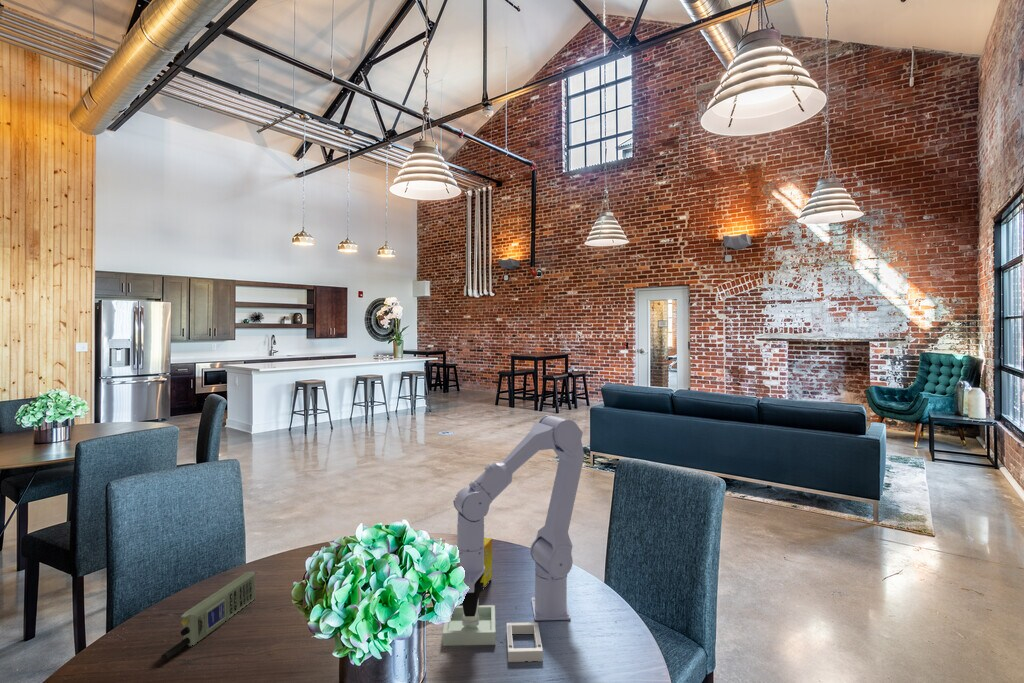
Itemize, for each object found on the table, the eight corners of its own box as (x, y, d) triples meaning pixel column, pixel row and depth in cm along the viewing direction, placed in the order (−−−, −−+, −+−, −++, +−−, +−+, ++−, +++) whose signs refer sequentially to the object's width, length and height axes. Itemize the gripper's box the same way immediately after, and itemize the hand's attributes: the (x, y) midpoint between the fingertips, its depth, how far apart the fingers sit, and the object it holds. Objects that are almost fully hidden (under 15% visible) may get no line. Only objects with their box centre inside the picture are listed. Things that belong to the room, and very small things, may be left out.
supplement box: (461, 587, 126) (462, 543, 127) (470, 576, 132) (470, 534, 132) (484, 590, 125) (484, 546, 125) (492, 580, 130) (492, 537, 131)
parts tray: (447, 617, 113) (447, 606, 113) (494, 616, 113) (494, 605, 113) (442, 645, 102) (442, 633, 102) (495, 644, 102) (495, 632, 102)
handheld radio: (258, 599, 120) (171, 665, 96) (245, 599, 121) (156, 664, 96) (257, 571, 120) (171, 629, 96) (244, 571, 121) (155, 628, 96)
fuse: (462, 618, 109) (463, 585, 109) (479, 618, 109) (479, 585, 109) (461, 627, 106) (461, 593, 106) (478, 627, 106) (478, 594, 106)
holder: (506, 632, 107) (506, 621, 107) (537, 631, 107) (537, 620, 107) (508, 662, 97) (508, 650, 97) (542, 661, 97) (542, 649, 97)
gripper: (454, 533, 115) (453, 593, 115) (448, 561, 100) (448, 630, 100) (485, 533, 115) (484, 593, 115) (484, 560, 100) (484, 629, 100)
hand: (470, 610), depth 108 cm, fingers closed on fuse, 3 cm apart
